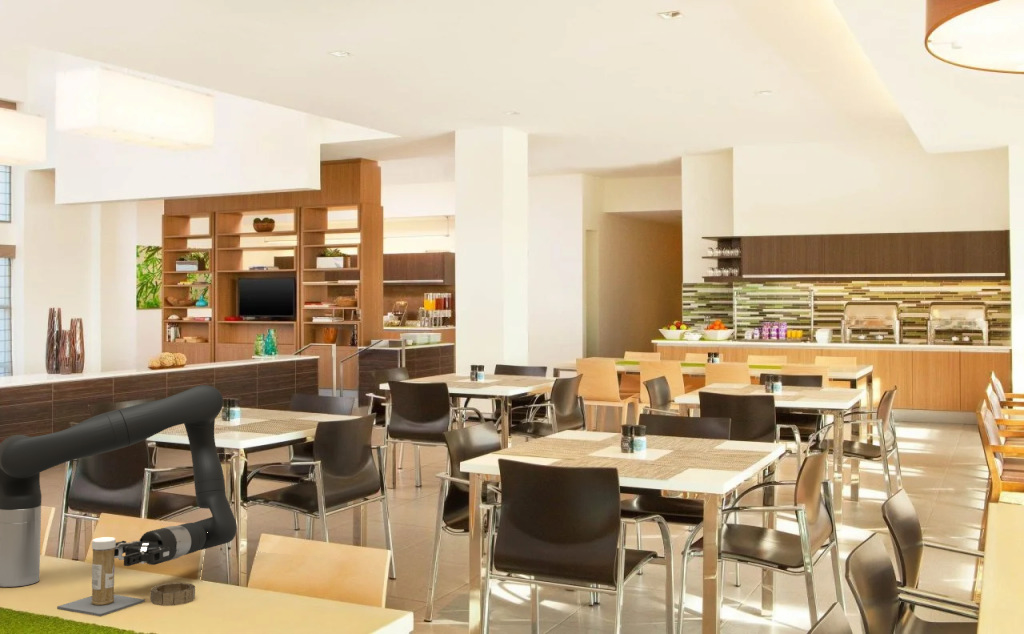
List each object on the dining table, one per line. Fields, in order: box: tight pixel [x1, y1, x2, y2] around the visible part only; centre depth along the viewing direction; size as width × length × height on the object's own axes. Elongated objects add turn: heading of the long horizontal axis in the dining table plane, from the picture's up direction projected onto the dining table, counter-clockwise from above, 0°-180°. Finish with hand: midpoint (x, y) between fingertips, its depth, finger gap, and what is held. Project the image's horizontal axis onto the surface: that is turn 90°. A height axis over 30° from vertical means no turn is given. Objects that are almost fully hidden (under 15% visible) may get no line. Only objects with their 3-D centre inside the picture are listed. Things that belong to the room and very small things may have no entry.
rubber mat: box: [56, 593, 146, 617], centre depth 203 cm, size 12×12×1 cm
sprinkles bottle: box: [91, 536, 117, 605], centre depth 204 cm, size 5×4×14 cm
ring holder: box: [149, 582, 196, 606], centre depth 209 cm, size 9×9×2 cm
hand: (109, 559), depth 205 cm, fingers open, 8 cm apart
